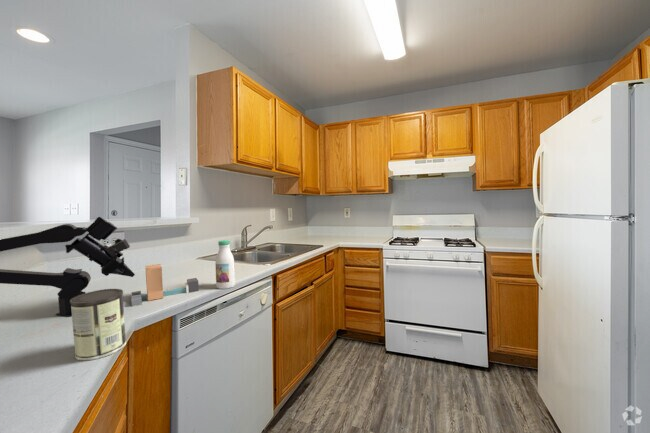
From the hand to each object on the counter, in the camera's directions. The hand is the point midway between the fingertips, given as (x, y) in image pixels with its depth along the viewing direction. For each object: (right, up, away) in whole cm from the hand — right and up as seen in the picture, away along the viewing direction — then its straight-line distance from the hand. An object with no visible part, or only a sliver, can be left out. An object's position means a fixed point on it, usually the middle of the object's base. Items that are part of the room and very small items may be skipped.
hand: (133, 275), depth 105 cm
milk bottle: (+29, -8, +16) cm, 34 cm away
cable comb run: (+9, -9, +6) cm, 14 cm away
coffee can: (+15, -12, -34) cm, 39 cm away
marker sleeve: (+5, -9, +4) cm, 11 cm away
